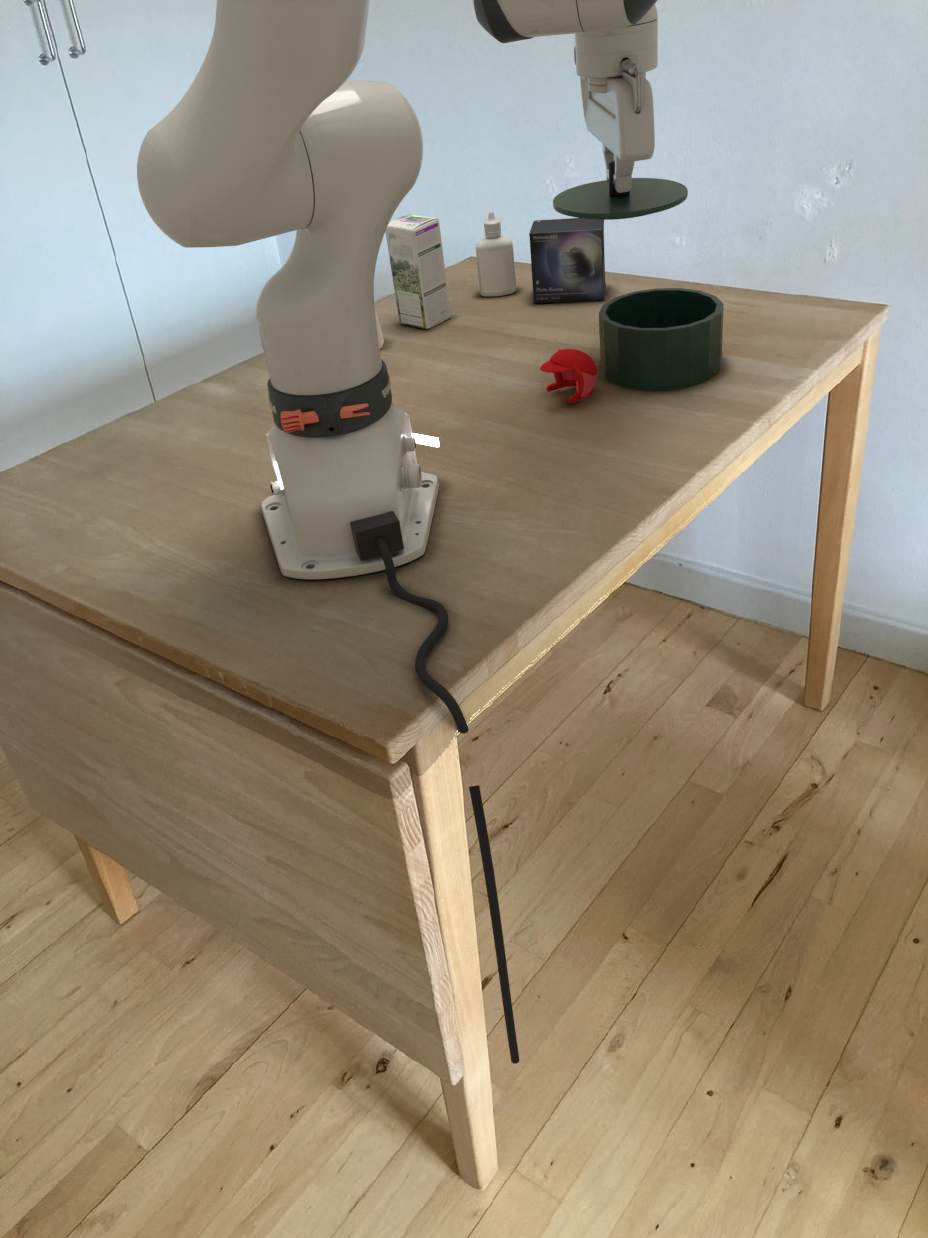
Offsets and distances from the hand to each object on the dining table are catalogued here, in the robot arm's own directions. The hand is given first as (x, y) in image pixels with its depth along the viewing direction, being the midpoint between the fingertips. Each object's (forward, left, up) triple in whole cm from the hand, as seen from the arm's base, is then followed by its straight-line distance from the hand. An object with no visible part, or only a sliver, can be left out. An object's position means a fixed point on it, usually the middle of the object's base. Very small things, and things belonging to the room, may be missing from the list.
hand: (618, 186), depth 120 cm
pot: (-4, -4, -21) cm, 22 cm away
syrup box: (+25, +24, -21) cm, 40 cm away
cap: (-9, +9, -21) cm, 25 cm away
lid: (0, 0, -1) cm, 1 cm away
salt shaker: (+18, +33, -21) cm, 43 cm away
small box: (+27, +2, -21) cm, 35 cm away
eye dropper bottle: (+33, +12, -21) cm, 41 cm away
